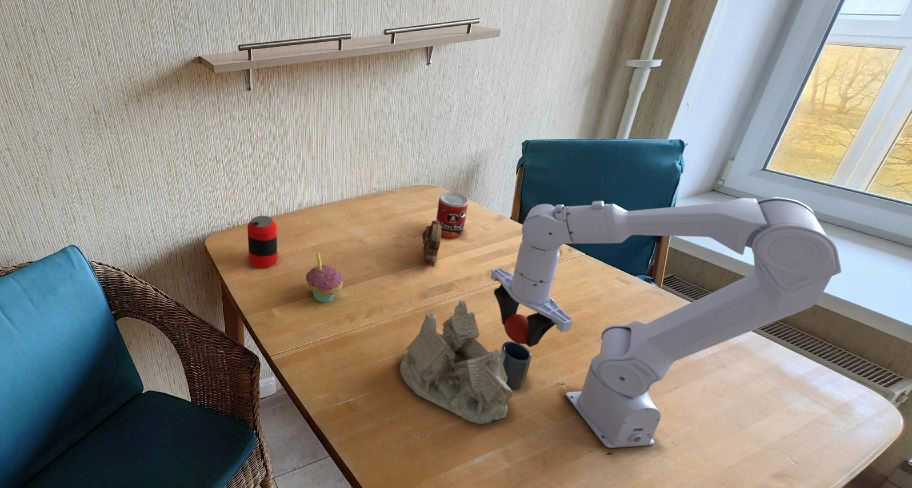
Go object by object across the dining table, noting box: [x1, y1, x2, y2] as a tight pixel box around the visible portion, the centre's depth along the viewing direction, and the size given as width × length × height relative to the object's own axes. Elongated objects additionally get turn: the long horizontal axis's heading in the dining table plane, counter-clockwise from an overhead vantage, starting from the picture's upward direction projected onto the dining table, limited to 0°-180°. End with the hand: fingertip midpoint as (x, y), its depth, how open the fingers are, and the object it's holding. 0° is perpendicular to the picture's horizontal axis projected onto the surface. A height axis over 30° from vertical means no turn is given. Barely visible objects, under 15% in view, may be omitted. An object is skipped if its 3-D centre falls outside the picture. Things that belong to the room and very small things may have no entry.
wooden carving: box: [421, 220, 442, 268], centre depth 112 cm, size 16×5×10 cm, turn 165°
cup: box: [499, 340, 532, 390], centre depth 78 cm, size 5×5×6 cm
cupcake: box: [305, 250, 344, 303], centre depth 99 cm, size 9×8×12 cm
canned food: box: [435, 191, 469, 239], centre depth 123 cm, size 8×8×11 cm
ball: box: [503, 313, 528, 345], centre depth 77 cm, size 5×5×5 cm
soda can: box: [246, 215, 278, 269], centre depth 112 cm, size 8×8×12 cm
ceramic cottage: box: [399, 300, 514, 425], centre depth 75 cm, size 16×16×15 cm
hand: (519, 333), depth 77 cm, fingers closed on ball, 5 cm apart
